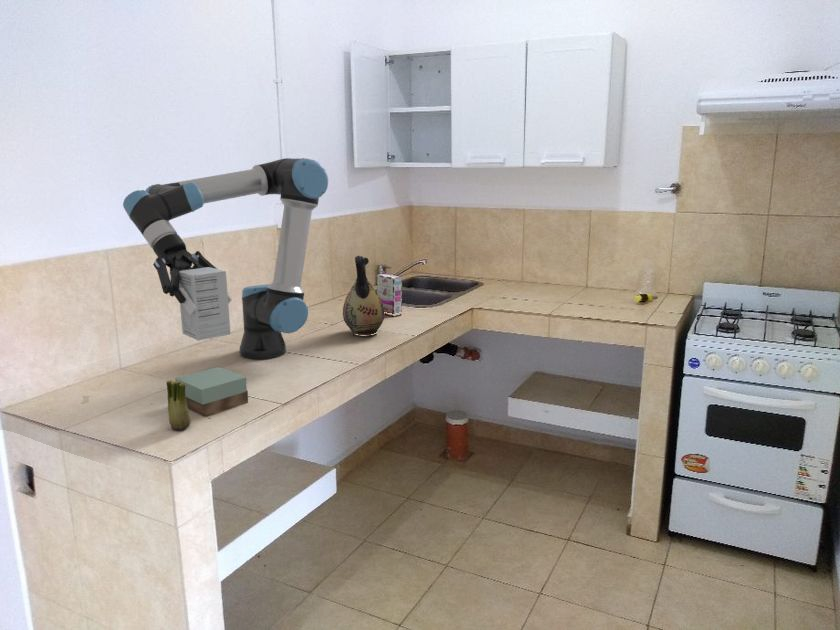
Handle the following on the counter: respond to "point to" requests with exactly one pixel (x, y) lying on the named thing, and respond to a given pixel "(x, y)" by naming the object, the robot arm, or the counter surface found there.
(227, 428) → the counter surface
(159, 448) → the counter surface
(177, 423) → the fennel bulb
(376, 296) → the ceramic jug
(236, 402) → the tower base
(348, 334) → the counter surface
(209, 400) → the tower top
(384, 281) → the candy bar box
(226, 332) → the supplement box
